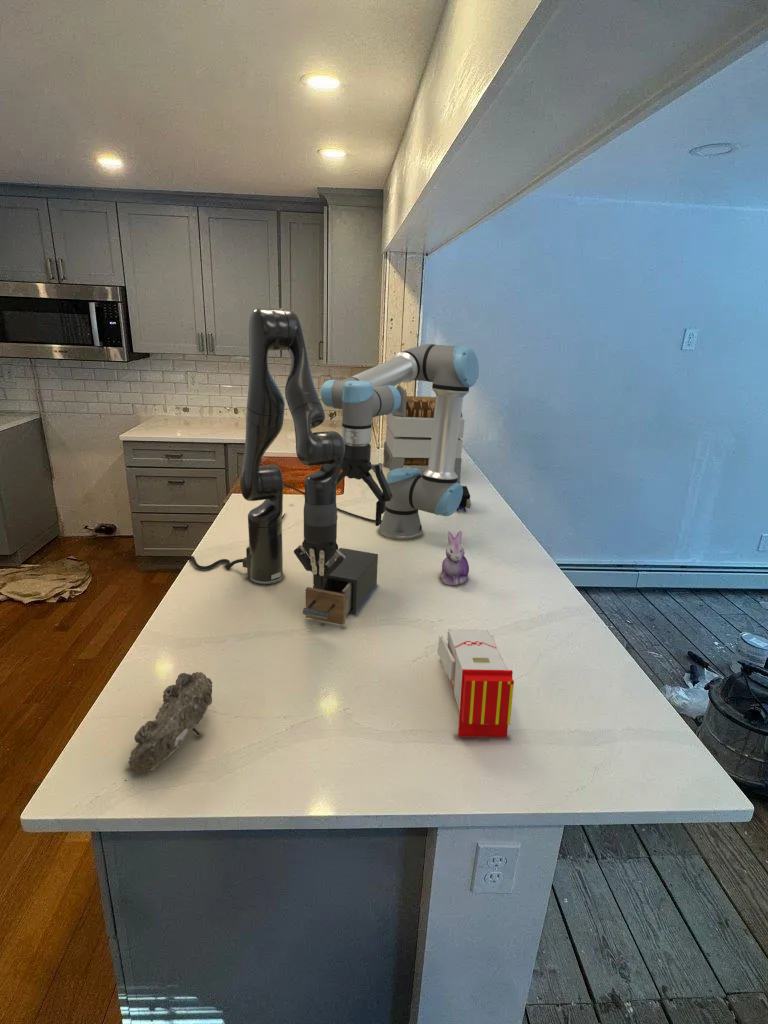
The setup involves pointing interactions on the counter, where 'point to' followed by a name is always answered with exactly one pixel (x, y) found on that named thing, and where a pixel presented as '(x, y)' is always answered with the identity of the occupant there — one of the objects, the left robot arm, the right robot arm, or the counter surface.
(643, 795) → the counter surface
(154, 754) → the fossil
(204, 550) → the counter surface
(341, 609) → the drawer
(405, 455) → the slatted crate
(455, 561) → the figurine
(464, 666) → the toy
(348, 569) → the cabinet
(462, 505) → the figurine character
